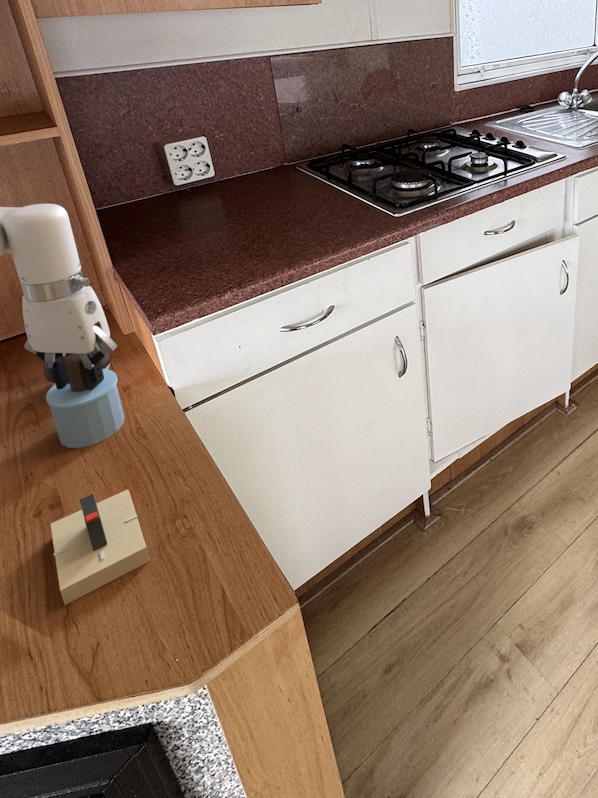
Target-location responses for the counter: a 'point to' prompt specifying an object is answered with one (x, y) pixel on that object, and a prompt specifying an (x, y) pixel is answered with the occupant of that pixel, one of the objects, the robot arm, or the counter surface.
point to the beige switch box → (105, 564)
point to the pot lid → (79, 386)
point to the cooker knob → (93, 522)
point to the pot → (89, 421)
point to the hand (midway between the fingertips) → (81, 383)
